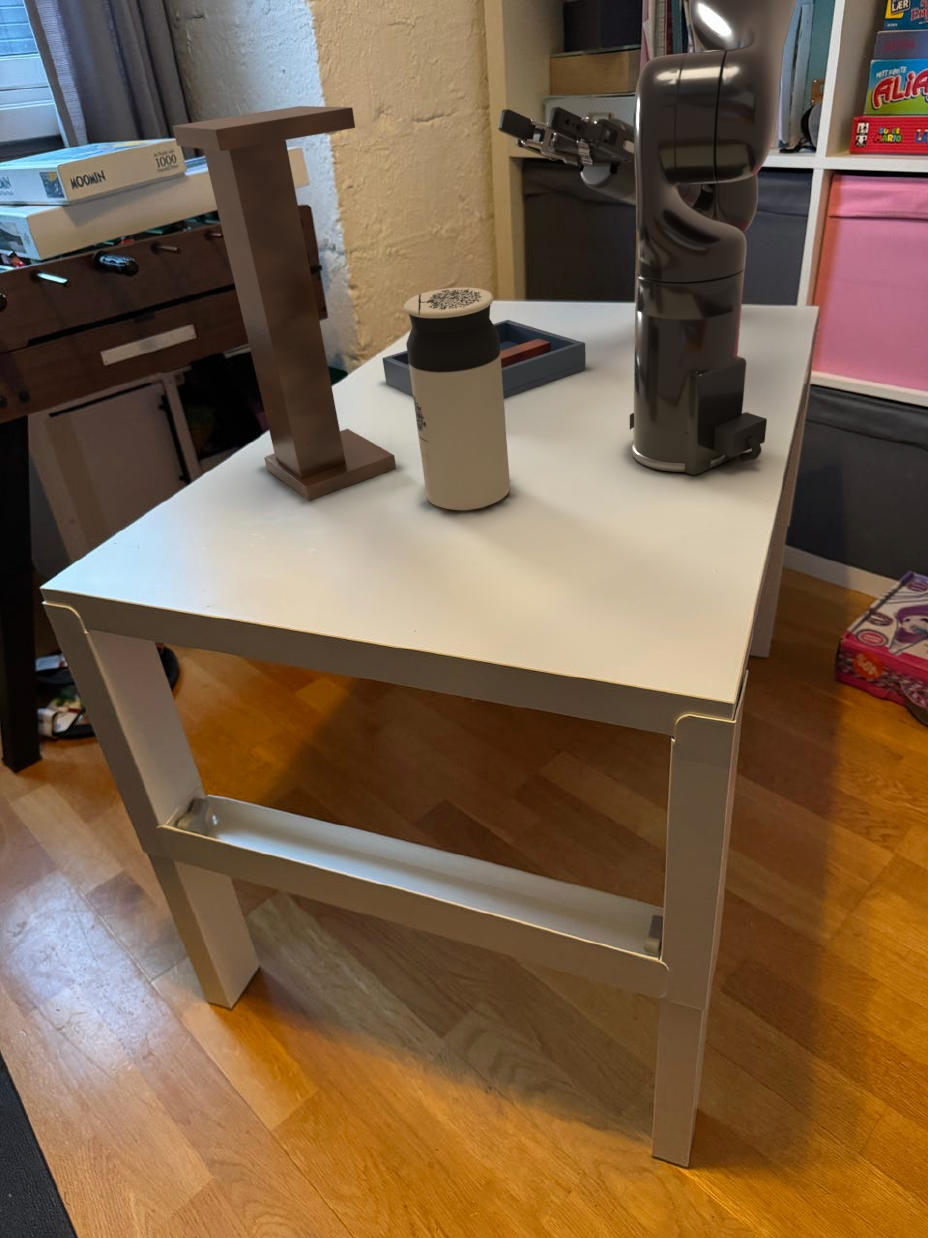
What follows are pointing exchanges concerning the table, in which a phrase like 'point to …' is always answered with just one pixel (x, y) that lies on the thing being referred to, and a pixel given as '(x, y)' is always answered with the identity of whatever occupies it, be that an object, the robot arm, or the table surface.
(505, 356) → the brush
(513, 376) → the tray
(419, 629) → the table surface
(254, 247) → the wooden pedestal stand
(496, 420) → the travel mug
